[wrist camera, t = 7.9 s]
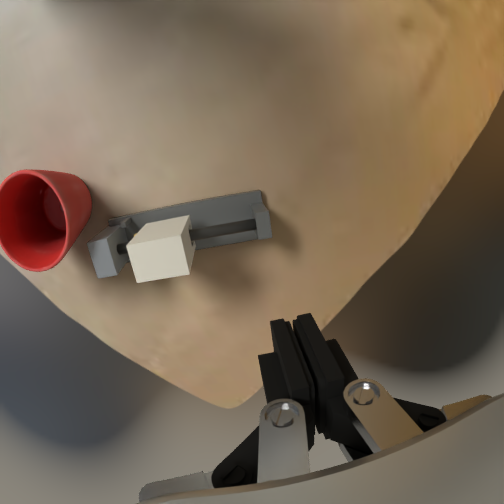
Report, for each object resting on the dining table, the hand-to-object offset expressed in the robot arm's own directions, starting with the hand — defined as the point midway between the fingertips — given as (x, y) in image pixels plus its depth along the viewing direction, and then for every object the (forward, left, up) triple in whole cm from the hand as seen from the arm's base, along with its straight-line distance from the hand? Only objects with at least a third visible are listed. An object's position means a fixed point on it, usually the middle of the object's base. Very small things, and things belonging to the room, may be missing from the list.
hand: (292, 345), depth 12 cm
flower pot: (-6, -22, -25) cm, 34 cm away
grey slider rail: (0, -7, -25) cm, 26 cm away
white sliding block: (0, -8, -22) cm, 24 cm away
